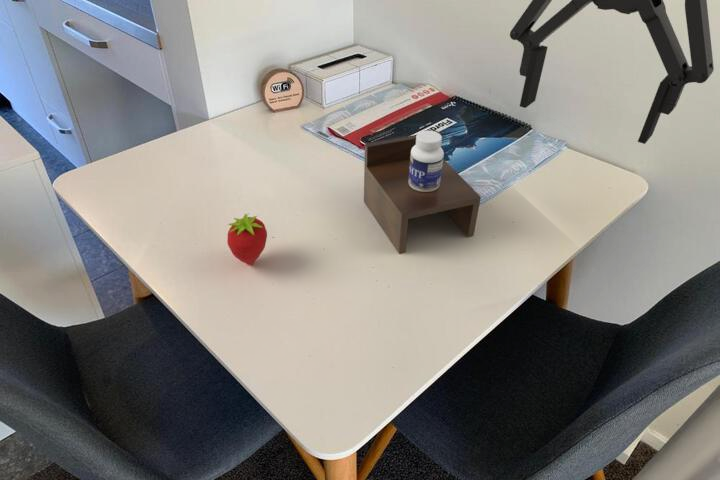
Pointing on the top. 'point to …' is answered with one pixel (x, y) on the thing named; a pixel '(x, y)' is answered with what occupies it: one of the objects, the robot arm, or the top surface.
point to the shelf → (412, 191)
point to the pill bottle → (426, 162)
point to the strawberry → (247, 239)
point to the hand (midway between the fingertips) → (582, 120)
